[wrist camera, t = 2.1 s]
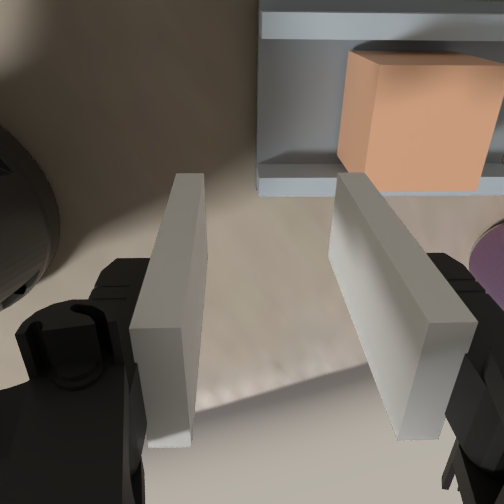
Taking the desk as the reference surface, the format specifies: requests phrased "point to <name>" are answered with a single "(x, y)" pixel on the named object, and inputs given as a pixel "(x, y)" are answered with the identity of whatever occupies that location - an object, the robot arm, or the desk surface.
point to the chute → (334, 73)
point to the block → (419, 118)
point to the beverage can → (490, 263)
